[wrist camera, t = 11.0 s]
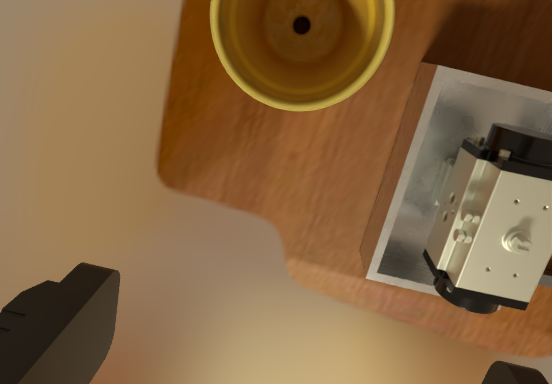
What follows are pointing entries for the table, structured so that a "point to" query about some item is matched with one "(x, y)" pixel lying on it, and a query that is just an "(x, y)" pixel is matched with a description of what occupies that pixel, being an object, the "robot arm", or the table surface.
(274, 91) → the plant pot
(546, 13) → the table surface
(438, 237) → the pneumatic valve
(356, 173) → the table surface
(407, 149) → the seat cradle
